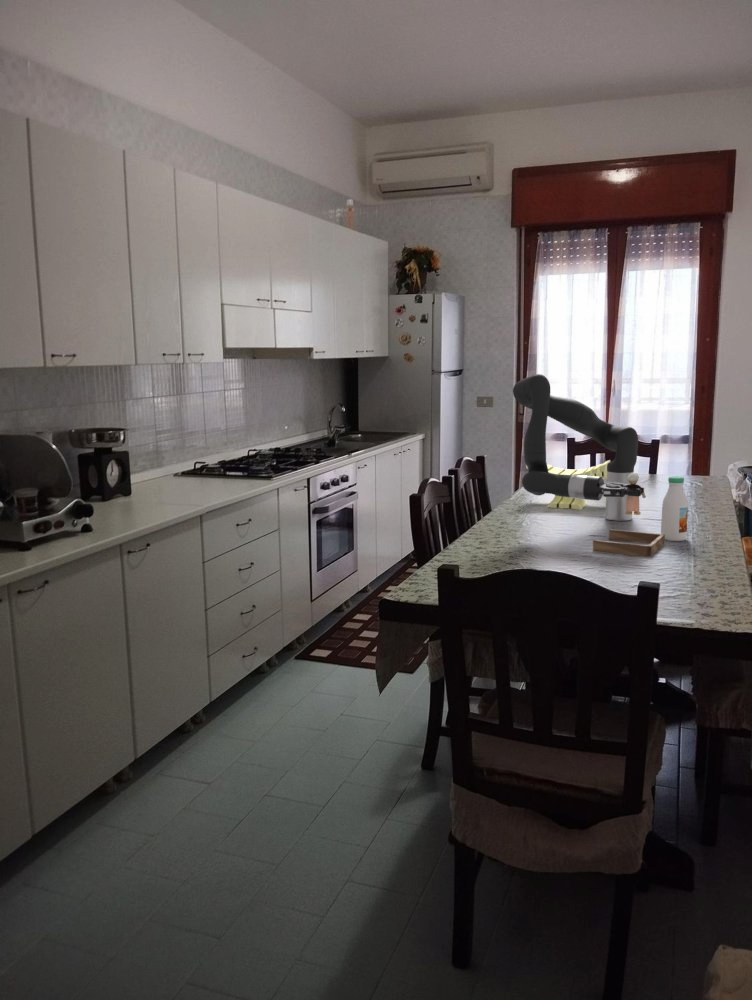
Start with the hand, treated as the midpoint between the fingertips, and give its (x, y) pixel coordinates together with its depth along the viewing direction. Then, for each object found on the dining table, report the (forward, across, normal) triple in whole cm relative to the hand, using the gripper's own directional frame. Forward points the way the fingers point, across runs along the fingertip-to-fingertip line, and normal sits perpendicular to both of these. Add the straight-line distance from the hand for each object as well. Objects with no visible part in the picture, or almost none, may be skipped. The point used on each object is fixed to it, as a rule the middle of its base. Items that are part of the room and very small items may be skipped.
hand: (642, 491), depth 240 cm
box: (-4, 0, +18) cm, 18 cm away
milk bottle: (+6, +17, +18) cm, 25 cm away
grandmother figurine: (-3, 0, +7) cm, 8 cm away
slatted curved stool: (-43, +59, +18) cm, 75 cm away
